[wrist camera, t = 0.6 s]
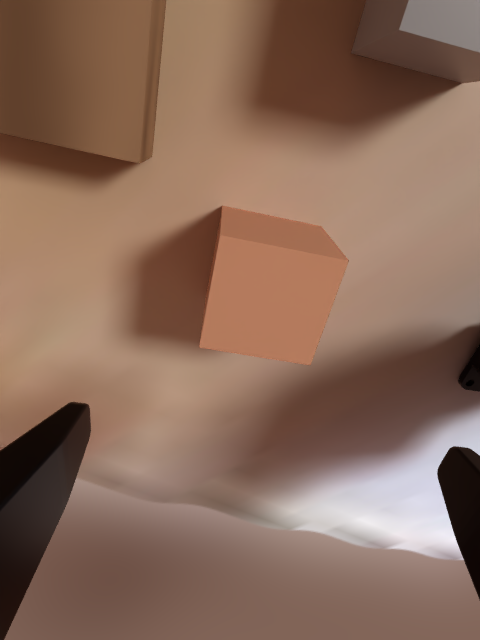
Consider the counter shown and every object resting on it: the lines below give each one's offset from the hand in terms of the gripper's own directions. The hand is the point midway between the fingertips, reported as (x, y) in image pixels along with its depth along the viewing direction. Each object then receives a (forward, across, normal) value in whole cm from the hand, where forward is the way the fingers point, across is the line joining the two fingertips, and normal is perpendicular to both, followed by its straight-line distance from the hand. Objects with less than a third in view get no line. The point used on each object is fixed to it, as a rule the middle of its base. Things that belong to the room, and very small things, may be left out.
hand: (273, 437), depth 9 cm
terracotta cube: (+12, 0, 0) cm, 12 cm away
